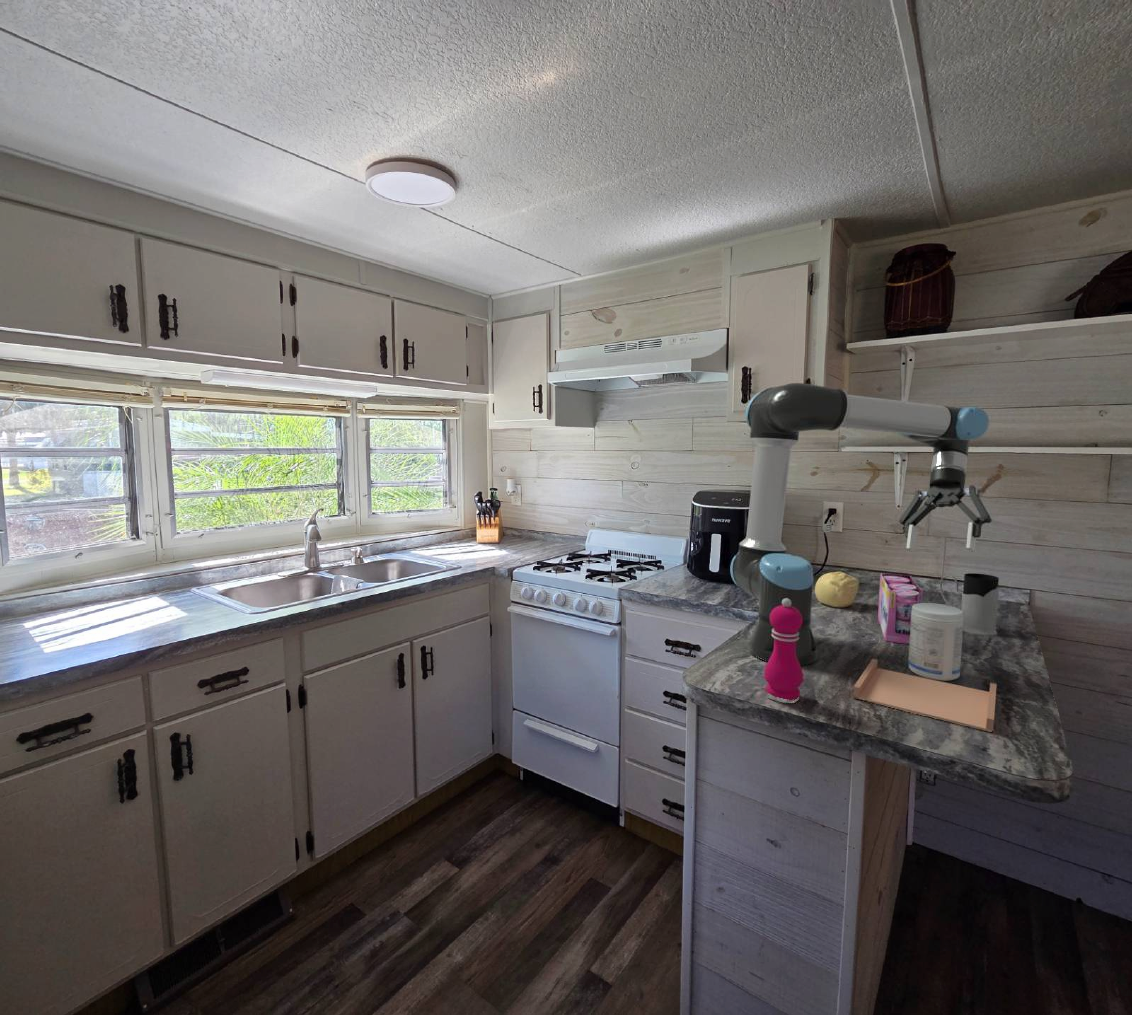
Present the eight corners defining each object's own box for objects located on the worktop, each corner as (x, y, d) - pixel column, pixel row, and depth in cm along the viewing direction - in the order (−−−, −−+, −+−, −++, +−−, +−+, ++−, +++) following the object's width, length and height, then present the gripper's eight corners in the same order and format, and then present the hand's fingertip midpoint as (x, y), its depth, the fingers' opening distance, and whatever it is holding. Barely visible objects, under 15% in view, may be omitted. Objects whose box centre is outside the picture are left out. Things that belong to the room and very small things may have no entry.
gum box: (922, 647, 140) (925, 594, 138) (885, 643, 143) (888, 591, 141) (908, 621, 161) (911, 574, 160) (877, 617, 164) (879, 572, 163)
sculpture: (844, 612, 170) (846, 577, 169) (807, 603, 180) (809, 570, 179) (863, 606, 177) (865, 572, 176) (826, 598, 186) (828, 566, 185)
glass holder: (989, 637, 147) (993, 581, 146) (930, 623, 159) (933, 571, 157) (1002, 631, 152) (1007, 577, 150) (944, 618, 164) (948, 568, 162)
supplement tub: (938, 664, 128) (943, 601, 127) (970, 681, 119) (976, 614, 117) (898, 665, 128) (902, 602, 126) (926, 682, 118) (931, 614, 117)
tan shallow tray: (872, 669, 125) (872, 658, 125) (995, 696, 112) (996, 684, 112) (853, 698, 111) (853, 686, 110) (992, 733, 97) (994, 719, 97)
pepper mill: (802, 707, 107) (807, 605, 105) (762, 701, 109) (766, 601, 107) (801, 692, 113) (806, 595, 111) (764, 687, 116) (767, 592, 114)
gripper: (1012, 472, 137) (1005, 555, 131) (905, 483, 158) (895, 554, 152) (999, 459, 133) (991, 544, 128) (891, 472, 154) (880, 545, 149)
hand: (939, 550), depth 140 cm, fingers open, 13 cm apart
